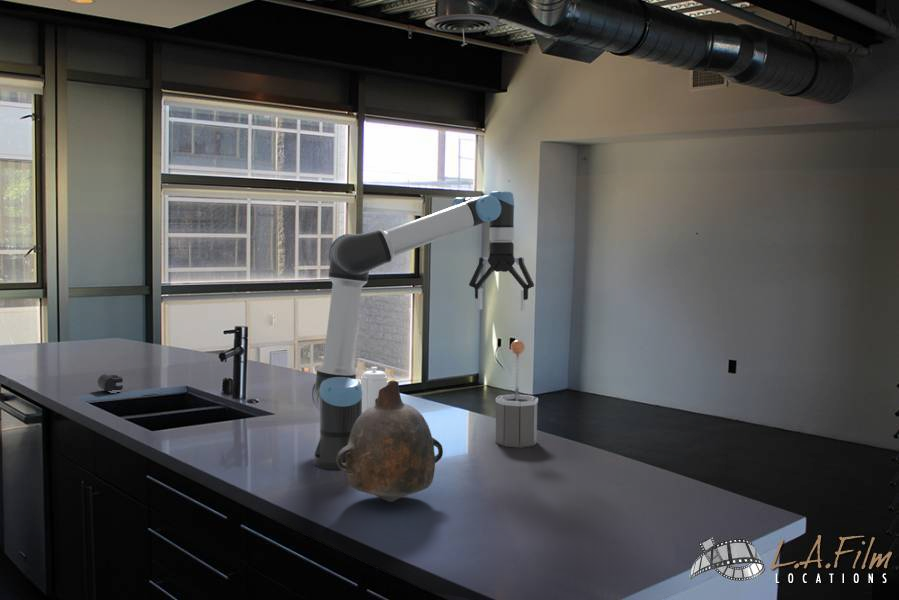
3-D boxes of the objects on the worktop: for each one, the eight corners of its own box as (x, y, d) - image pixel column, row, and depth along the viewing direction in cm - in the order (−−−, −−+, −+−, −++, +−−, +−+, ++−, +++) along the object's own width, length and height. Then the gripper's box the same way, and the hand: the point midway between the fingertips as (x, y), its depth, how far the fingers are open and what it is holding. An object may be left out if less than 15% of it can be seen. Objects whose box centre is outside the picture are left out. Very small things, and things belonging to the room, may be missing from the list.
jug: (392, 481, 215) (392, 367, 213) (456, 498, 202) (457, 377, 199) (321, 504, 196) (321, 379, 194) (387, 524, 183) (387, 391, 181)
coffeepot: (347, 427, 276) (347, 372, 274) (369, 412, 300) (369, 361, 299) (378, 429, 274) (378, 373, 272) (398, 413, 298) (398, 362, 297)
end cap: (97, 391, 337) (97, 374, 336) (115, 389, 341) (115, 373, 341) (104, 395, 329) (104, 378, 328) (123, 393, 333) (122, 376, 333)
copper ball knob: (526, 411, 252) (528, 342, 250) (500, 409, 254) (501, 341, 253) (532, 405, 260) (533, 339, 258) (506, 403, 262) (507, 338, 261)
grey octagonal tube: (531, 448, 250) (532, 403, 249) (491, 445, 254) (492, 400, 253) (542, 436, 265) (543, 393, 264) (504, 433, 269) (505, 391, 268)
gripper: (543, 241, 255) (543, 309, 257) (466, 241, 263) (466, 307, 264) (538, 241, 248) (538, 311, 250) (459, 241, 256) (459, 309, 257)
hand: (501, 310), depth 257 cm, fingers open, 13 cm apart
